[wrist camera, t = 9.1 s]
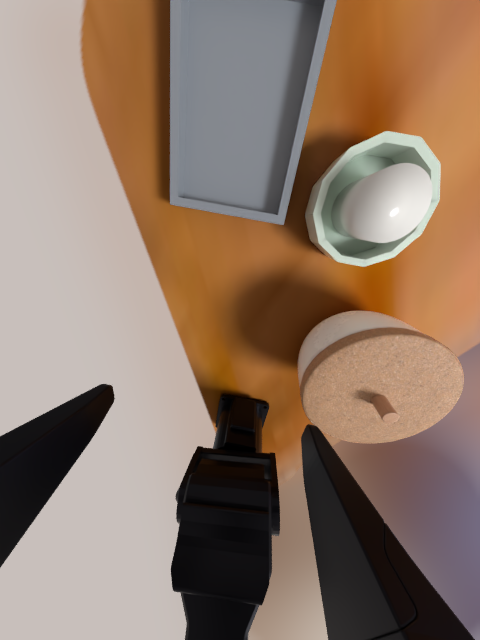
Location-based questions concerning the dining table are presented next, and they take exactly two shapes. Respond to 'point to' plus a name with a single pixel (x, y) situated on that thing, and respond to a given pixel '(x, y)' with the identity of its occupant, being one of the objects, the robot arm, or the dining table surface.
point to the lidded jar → (375, 378)
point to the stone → (383, 204)
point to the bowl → (356, 166)
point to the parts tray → (242, 101)
